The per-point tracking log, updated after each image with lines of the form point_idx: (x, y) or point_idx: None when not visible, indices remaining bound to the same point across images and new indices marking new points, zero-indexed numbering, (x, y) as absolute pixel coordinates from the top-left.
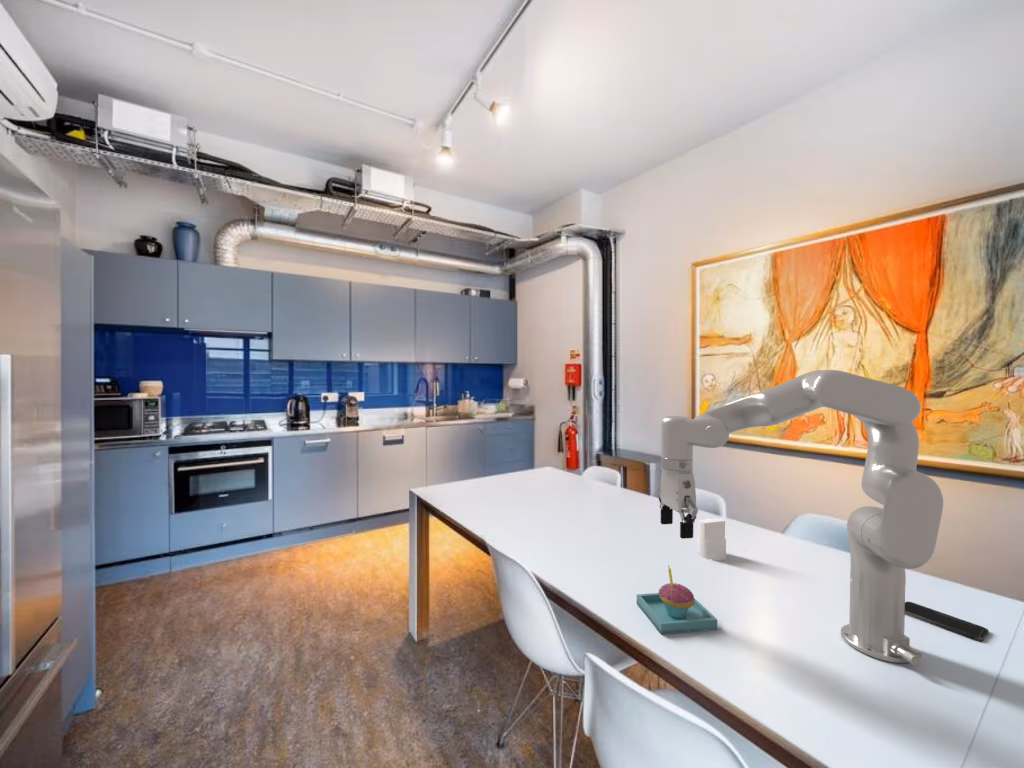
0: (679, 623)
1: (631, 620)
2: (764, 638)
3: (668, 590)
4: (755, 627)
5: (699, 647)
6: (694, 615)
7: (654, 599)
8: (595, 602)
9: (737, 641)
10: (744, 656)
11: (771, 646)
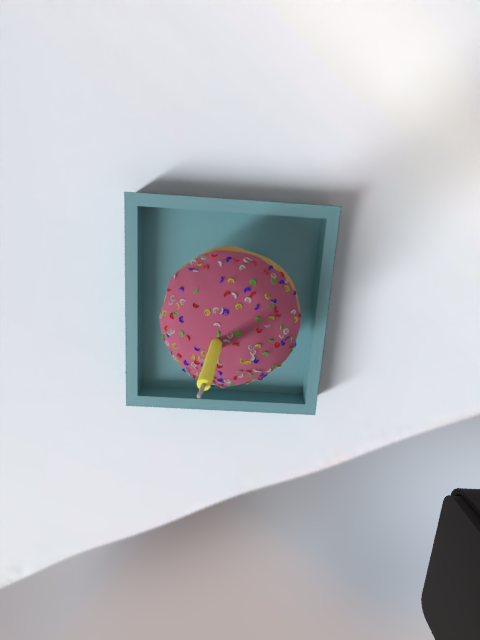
0: (321, 352)
1: (223, 447)
2: (419, 65)
3: (240, 372)
4: (356, 42)
5: (391, 324)
6: (257, 245)
7: (141, 337)
8: (110, 508)
9: (403, 182)
10: (468, 216)
11: (461, 78)
